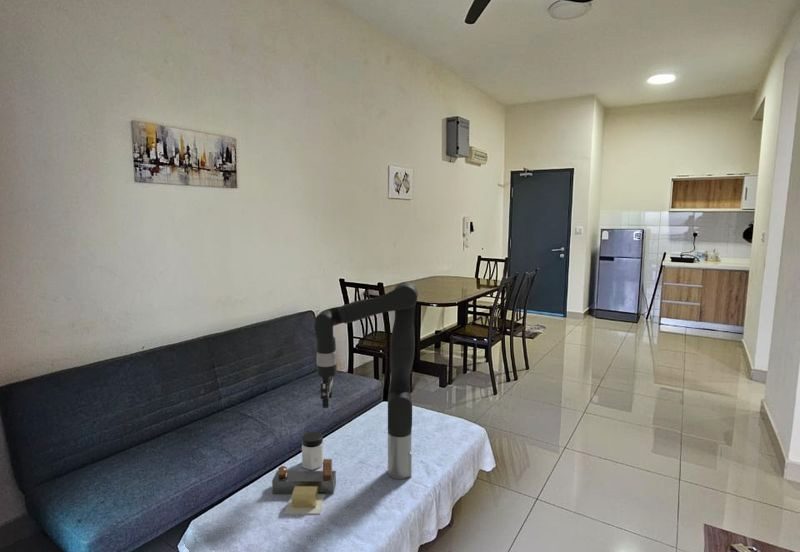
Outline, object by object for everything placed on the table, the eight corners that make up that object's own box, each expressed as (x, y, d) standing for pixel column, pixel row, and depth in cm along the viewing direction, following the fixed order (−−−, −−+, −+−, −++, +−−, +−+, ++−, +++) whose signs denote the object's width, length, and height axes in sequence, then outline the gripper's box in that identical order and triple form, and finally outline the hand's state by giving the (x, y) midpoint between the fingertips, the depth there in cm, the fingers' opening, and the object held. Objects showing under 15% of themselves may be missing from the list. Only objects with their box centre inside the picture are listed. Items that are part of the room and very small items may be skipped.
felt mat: (324, 495, 160) (324, 494, 160) (320, 514, 150) (320, 513, 150) (291, 495, 160) (291, 494, 160) (284, 514, 150) (284, 513, 150)
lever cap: (318, 499, 157) (317, 486, 156) (315, 507, 153) (315, 494, 152) (295, 499, 157) (294, 486, 156) (292, 507, 153) (292, 494, 152)
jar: (306, 472, 174) (305, 444, 172) (298, 462, 180) (297, 435, 179) (327, 465, 179) (326, 437, 177) (319, 456, 185) (318, 429, 183)
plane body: (335, 483, 167) (335, 456, 165) (333, 494, 161) (332, 466, 159) (277, 483, 167) (276, 456, 165) (272, 494, 160) (271, 465, 159)
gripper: (333, 369, 162) (334, 411, 164) (338, 356, 176) (339, 395, 178) (313, 369, 162) (314, 411, 164) (319, 356, 176) (320, 395, 178)
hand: (327, 402), depth 171 cm, fingers open, 8 cm apart
